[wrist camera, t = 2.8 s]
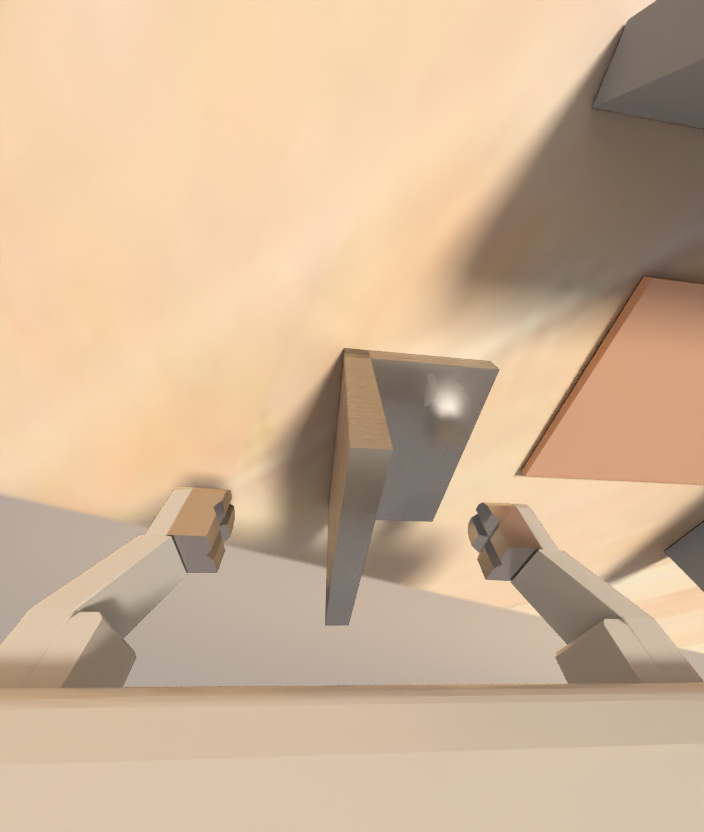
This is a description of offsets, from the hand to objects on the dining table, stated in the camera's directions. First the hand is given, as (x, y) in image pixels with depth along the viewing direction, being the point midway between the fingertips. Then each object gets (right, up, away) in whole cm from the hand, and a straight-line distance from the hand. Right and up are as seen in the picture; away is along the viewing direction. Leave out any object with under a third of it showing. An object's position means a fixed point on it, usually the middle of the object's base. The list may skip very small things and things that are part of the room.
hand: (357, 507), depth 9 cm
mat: (+13, +3, +2) cm, 13 cm away
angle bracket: (+2, +2, +2) cm, 3 cm away
